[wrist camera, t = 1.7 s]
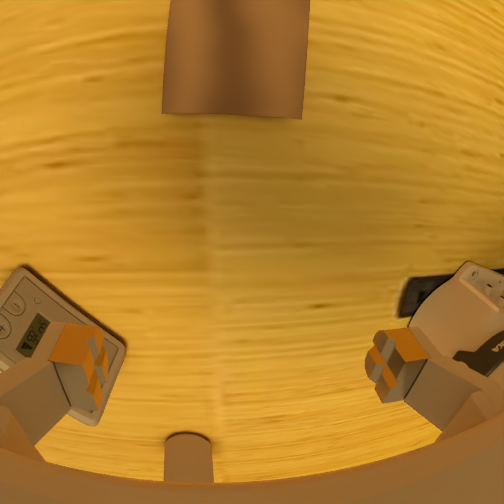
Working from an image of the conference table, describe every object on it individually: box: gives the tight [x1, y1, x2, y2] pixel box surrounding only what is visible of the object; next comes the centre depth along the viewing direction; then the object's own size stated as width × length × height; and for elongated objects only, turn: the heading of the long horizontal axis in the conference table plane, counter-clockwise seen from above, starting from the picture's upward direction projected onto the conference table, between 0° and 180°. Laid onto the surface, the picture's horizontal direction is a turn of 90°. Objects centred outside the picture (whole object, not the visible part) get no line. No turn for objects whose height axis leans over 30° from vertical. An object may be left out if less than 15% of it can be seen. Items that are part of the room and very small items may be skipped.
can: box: [164, 433, 214, 483], centre depth 39 cm, size 8×8×12 cm
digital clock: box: [0, 267, 126, 426], centre depth 27 cm, size 16×9×11 cm, turn 32°
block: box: [162, 0, 310, 120], centre depth 21 cm, size 10×10×5 cm
